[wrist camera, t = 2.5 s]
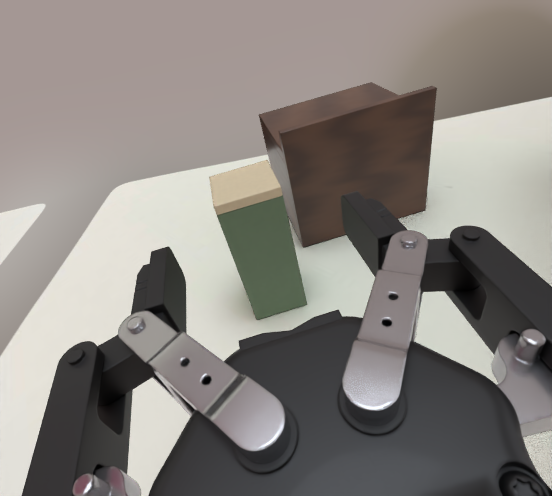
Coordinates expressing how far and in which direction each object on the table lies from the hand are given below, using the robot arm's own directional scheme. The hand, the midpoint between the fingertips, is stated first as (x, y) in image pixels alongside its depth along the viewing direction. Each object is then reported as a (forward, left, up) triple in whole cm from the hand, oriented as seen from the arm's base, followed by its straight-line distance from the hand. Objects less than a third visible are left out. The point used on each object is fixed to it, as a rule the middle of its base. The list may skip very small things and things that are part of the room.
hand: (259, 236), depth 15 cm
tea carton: (0, -11, -16) cm, 19 cm away
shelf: (-12, -24, -16) cm, 31 cm away
